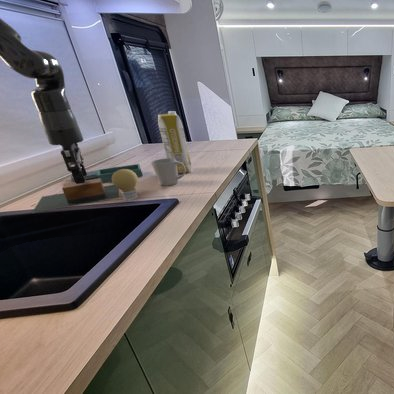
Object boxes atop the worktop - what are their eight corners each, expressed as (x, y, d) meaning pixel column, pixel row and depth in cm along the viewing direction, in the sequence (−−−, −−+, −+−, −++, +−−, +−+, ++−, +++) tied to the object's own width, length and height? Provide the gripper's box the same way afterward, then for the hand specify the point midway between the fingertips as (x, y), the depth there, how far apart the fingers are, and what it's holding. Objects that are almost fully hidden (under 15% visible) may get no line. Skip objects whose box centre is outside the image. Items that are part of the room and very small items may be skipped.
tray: (100, 184, 106) (96, 175, 105) (100, 178, 113) (97, 169, 111) (143, 177, 113) (140, 168, 112) (141, 172, 120) (139, 163, 119)
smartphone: (70, 174, 113) (117, 166, 122) (72, 178, 114) (119, 169, 123) (70, 179, 108) (119, 169, 117) (72, 183, 109) (121, 173, 117)
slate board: (32, 215, 82) (31, 213, 82) (42, 198, 94) (42, 196, 94) (119, 198, 93) (119, 196, 93) (119, 185, 105) (118, 183, 105)
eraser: (68, 203, 88) (61, 188, 86) (70, 198, 92) (64, 183, 90) (105, 196, 93) (100, 182, 91) (105, 192, 97) (100, 178, 95)
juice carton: (193, 172, 119) (180, 111, 110) (171, 175, 115) (155, 113, 106) (190, 167, 126) (177, 109, 117) (169, 170, 122) (154, 111, 113)
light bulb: (117, 200, 92) (106, 169, 88) (140, 194, 96) (131, 165, 93) (121, 205, 88) (111, 174, 84) (146, 199, 92) (137, 169, 89)
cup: (160, 181, 109) (154, 159, 105) (189, 178, 112) (184, 156, 108) (155, 188, 102) (148, 164, 99) (186, 184, 105) (181, 161, 102)
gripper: (47, 125, 87) (68, 176, 94) (38, 131, 77) (62, 188, 83) (80, 122, 92) (98, 171, 98) (75, 128, 81) (96, 182, 87)
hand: (81, 179), depth 90 cm, fingers open, 8 cm apart
